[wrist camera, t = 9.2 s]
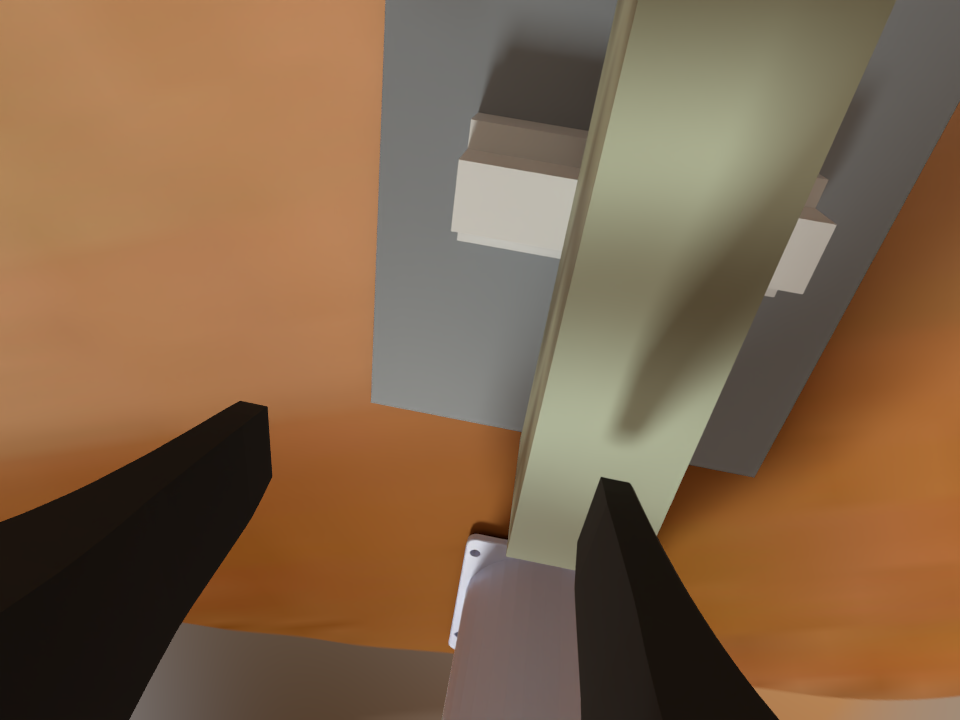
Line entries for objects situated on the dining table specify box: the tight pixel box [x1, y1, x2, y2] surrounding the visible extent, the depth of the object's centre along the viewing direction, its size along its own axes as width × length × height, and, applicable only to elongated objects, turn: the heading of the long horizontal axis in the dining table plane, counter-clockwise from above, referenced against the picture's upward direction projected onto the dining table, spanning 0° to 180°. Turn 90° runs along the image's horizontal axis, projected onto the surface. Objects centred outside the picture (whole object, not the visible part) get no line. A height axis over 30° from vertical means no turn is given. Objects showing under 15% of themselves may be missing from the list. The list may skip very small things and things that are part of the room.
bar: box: [506, 0, 896, 570], centre depth 13 cm, size 16×4×5 cm, turn 173°
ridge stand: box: [371, 0, 960, 477], centre depth 17 cm, size 20×16×4 cm
